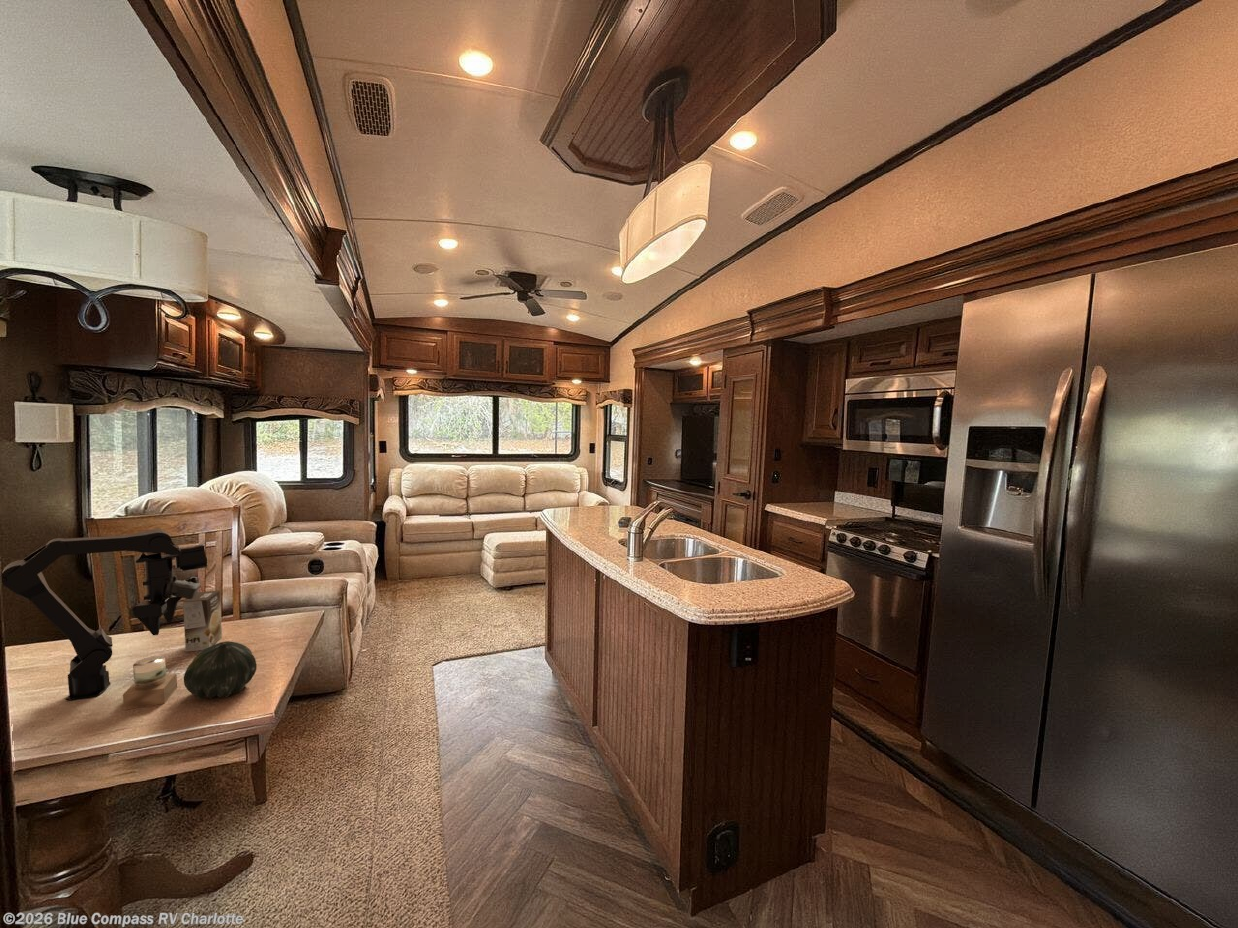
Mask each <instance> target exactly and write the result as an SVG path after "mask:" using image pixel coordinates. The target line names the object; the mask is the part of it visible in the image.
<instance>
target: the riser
mask: <svg viewBox="0 0 1238 928" xmlns="http://www.w3.org/2000/svg"><path fill="white" fill-rule="evenodd" d="M177 688H178V678H177V673H170V674H166V681H165V682H164V683H163V684H161V685H159V686H157V687H154V688H150V689H145V690H137V689H135V683H134V682H133V683H132V684H131V685H130V687H129V688H128V689H126V690H125V692H124V693H123V694H122V703H123V710H124V711H127V710H130V709H131V710H132V709H138V708H144V707H150V706H157V705H162V704H166V702H167V701H168V700H169V698H170V697H171V696H172V695H173V693H175V691H176V690H177Z"/></svg>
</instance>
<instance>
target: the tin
mask: <svg viewBox="0 0 1238 928" xmlns="http://www.w3.org/2000/svg"><path fill="white" fill-rule="evenodd" d="M132 665H133V666H132V667H133V671H132V672H133V683H135V689H137V690H145V689H150V688H154V687H157V686H159V685H161V684H163V683H164V682H165V681H166V675H167V666H166V665H167V663H166V658H165V656H163V655H155V656H149V657H144V658H142V659H139V660H137V661H136V662H134V663H133V664H132Z"/></svg>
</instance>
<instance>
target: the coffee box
mask: <svg viewBox="0 0 1238 928" xmlns="http://www.w3.org/2000/svg"><path fill="white" fill-rule="evenodd" d="M182 605H183V606H182V607H183V609H182V610H183V623H184V624H183V626H184V627H183V628H184V644H185V645H184V647H185V652H195V651H202V650H204V649H206V648H208V647H211V646H213V645H215V644H217V642H218V641H220V640H222V638H223V632H222V631H223V628H222V610H221V608H222V607H221V590H209V591H198V592H197V595H196V596H194V597H193V599H185V600H183V601H182ZM218 643H219V642H218Z"/></svg>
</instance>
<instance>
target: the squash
mask: <svg viewBox="0 0 1238 928" xmlns="http://www.w3.org/2000/svg"><path fill="white" fill-rule="evenodd" d="M257 667H258V664H257V661H256V658H255V656H254V654H253V652H252V650H251V649H250V648H249V647H248V646H247V645H244V644H242V643H239V642H235V641H230V640H228V641H227V640H226V641H222V642H218V643H215V644H214V645H213V646H211V647H208V648H206V649H204V650H200V652H198V653H197V654H196V656H194V658H193V660H192V661H191V663H190V664H189V665H187V668H186V669H185V672H184V674H183V685H184V686H185V688H186V690H187V691H188V692H189V693H190V694H191V695H194V696H196V697H198V698H201V699H202V698H206V697H207V698H215V697H218V698H223V699H224V698H228V697H229V696H230V695H231V694H236V693H237V694H238V693H240V692H241V691H242V690H243V689H244V687H245V686H246V685H247V684H248V683H250V682H251V680H252V679H253V677H254V676H255V673H256V671H257Z"/></svg>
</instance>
